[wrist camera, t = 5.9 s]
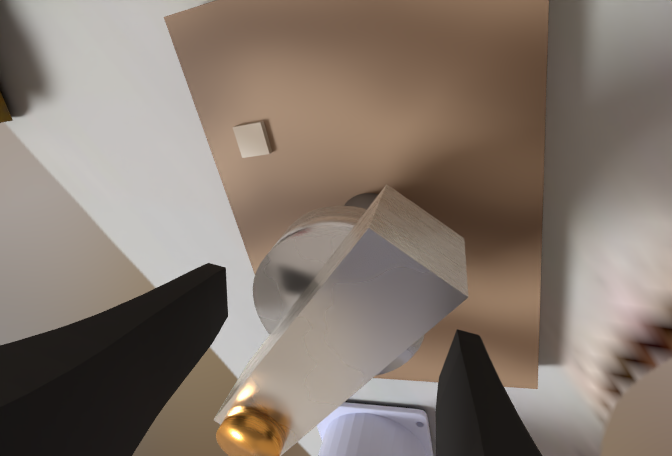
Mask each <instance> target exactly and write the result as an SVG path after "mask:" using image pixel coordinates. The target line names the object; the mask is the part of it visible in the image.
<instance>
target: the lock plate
mask: <svg viewBox="0 0 672 456" xmlns="http://www.w3.org/2000/svg"><path fill="white" fill-rule="evenodd" d="M548 13H549V0H216V1H213V2H210V3H207V4H203V5H200V6H197V7H194V8H191V9H188V10H185V11H181V12H178V13H175V14H172V15H169V16H166V17H164V19H165V22H166V25H167V28H168V30H169V33H170V36H171V39H172V42H173V45H174V47H175V50H176V53H177V56H178V59H179V62H180V64H181V67H182V70H183V73H184V76H185V78H186V81H187V84H188V87H189V90H190V93H191V95H192V98H193V101H194V104H195V107H196V110H197V112H198V115H199V118H200V121H201V124H202V126H203V129H204V132H205V135H206V138H207V141H208V143H209V146H210V149H211V152H212V155H213V158H214V160H215V163H216V166H217V169H218V172H219V175H220V177H221V180H222V183H223V186H224V189H225V191H226V194H227V197H228V200H229V203H230V206H231V208H232V211H233V214H234V217H235V220H236V223H237V225H238V228H239V231H240V234H241V237H242V239H243V242H244V245H245V248H246V251H247V254H248V256H249V259H250V262H251V265H252V268H253V271H254V273H255V274H256V271H257V269H258V267H259V265H260V263H261V262H262V260H263V259H264V258H265V256H266V255H267V254H268V253H269V251H270V250H271V249H272V248H273V246H274V245H275V244H276V243H277V242H278V240H279V239H280V238H281V237H282V235H283V234H284V233H285V232H286V230H287V229H288V228H289V227H290V226H291V225H292V224H293V223H294V222H295V221H296V220H297V219H299V218H300V217H301V216H303V215H305V214H307V213H309V212H311V211H313V210H316V209H319V208H323V207H329V206H341V205H343V206H355V207H359V208H364V209H368V207H369V206H370V205H371V204H372V202H373V201H374V200H375V198H376V197H377V196H378V195H379V193H380V192H381V191H382V189H383V188H384V187H385V186H386V184H388V185H389V186H390V187H392V188H393V189H395V190H396V191H397V192H399V193H400V194H402V195H403V196H405V197H406V198H407V199H409V200H410V201H412V202H413V203H414V204H416V205H417V206H419V207H420V208H422V209H423V210H424V211H426V212H427V213H429V214H430V215H432V216H433V217H434V218H436V219H437V220H439V221H440V222H441V223H443V224H444V225H446V226H447V227H449V228H450V229H451V230H453V231H454V232H456V233H457V234H458V235H460V236H461V237H463V238H464V242H465V256H466V270H467V285H468V298H467V299H466V300H465V301H463V302H462V303H461V304H460V305H459V306H458V307H456V308H455V309H454V310H453V311H452V312H450V313H449V314H448V315H447V316H446V317H444V318H443V319H442V320H441V321H440V322H439V323H437V324H436V325H435V326H434V327H433V328H431V329H430V330H429V331H428V332H427V333H426V334H425V335H424V339H423V342H422V344H421V346H420V348H419V349H418V351H417V352H416V353H415V355H414V356H413V357H412V358H411V359H410V360H409V361H408V362H406V363H405V364H403V365H402V366H401V367H399V368H397V369H395V370H393V371H390V372H388V373H385V374H381V375H377V376H375V377H373V378H383V379H398V380H413V381H427V382H439V376H440V373H441V370H442V368H443V365H444V362H445V360H446V357H447V354H448V352H449V349H450V346H451V344H452V341H453V338H454V336H455V333H456V330H457V329H458V330H462V331H466V332H470V333H473V334H477V335H479V336H480V337H481V339H482V341H483V343H484V345H485V348H486V350H487V352H488V355H489V357H490V359H491V361H492V363H493V366H494V368H495V370H496V372H497V374H498V376H499V378H500V380H501V382H502V384H503V386H504V387H516V388H531V389H538V356H539V322H540V287H541V253H542V219H543V185H544V150H545V116H546V82H547V48H548Z"/></svg>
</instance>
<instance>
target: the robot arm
mask: <svg viewBox="0 0 672 456" xmlns="http://www.w3.org/2000/svg"><path fill="white" fill-rule="evenodd" d="M227 317H228V306H227V286H226V268H225V267H221V266H218V265H214V264H210V263H207V264H205V265H203V266H201V267H198V268H196V269H194V270H192V271H190V272H188V273H186V274H184V275H182V276H180V277H178V278H176V279H174V280H172V281H170V282H168V283H166V284H164V285H162V286H160V287H158V288H155V289H153V290H151V291H149V292H148V293H145V294H143V295H141V296H138V297H136V298H134V299H132V300H129V301H127V302H125V303H123V304H120V305H118V306H116V307H113V308H111V309H109V310H107V311H104V312H102V313H99V314H97V315H94V316H92V317H89V318H86V319H84V320H81V321H78V322H75V323H72V324H70V325H67V326H64V327H61V328H58V329H55V330H51V331H48V332H45V333H42V334H38V335H35V336H32V337H28V338H25V339H22V340H19V341H15V342H12V343H8V344H4V345H0V456H132V455H133V453H134V451H135V450H136V448H137V447H138V445H139V443H140V442H141V440H142V439H143V437H144V436H145V434H146V432H147V431H148V429H149V427H150V426H151V424H152V423H153V421H154V420H155V418H156V417H157V415H158V414H159V413H160V411H161V410H162V408H163V407H164V406H165V404H166V403H167V401H168V400H169V399H170V398H171V396H172V395H173V394H174V392H175V391H176V390H177V389H178V387H179V386H180V385H181V383H182V382H183V381H184V379H185V378H186V377H187V375H188V374H189V373H190V372H191V370H192V369H193V368H194V367H195V365H196V364H197V363H198V361H199V360H200V359H201V357H202V356H203V355H204V353H205V352H206V351H207V349H208V348H209V347H210V345H211V344H212V343H213V341H214V339H215V338H216V336H217V334H218V333H219V331H220V329H221V327H222V326H223V324H224V322H225V320H226V319H227ZM317 427H318V430H319V433H320V436H321V439H322V444H321V448H320V451H319V454H318V456H433V450H432V443H431V437H430V430H429V423H428V417H427V414H426V412H425V411H423V410H420V409H412V408H401V407H390V406H379V405H368V404H357V403H346V402H344V403H343V404H341V405H340V406H339V407H338V408H337V409H335V410H334V411H333V412H332V413H331V414H330V415H328V416H327V417H326V418H325V419H324V420H322V421H321V422H320V423H319V424H318V425H317ZM436 456H542V455H541V453H540V451H539V450H538V448H537V446H536V445H535V443H534V441H533V440H532V438H531V436H530V434H529V433H528V431H527V429H526V428H525V426H524V424H523V422H522V420H521V419H520V417H519V415H518V413H517V411H516V409H515V408H514V406H513V404H512V402H511V400H510V398H509V396H508V394H507V392H506V390H505V388H504V386H503V384H502V382H501V380H500V378H499V376H498V374H497V372H496V370H495V368H494V366H493V363H492V361H491V359H490V357H489V355H488V352H487V350H486V348H485V345H484V343H483V341H482V339H481V337H480V336H479V335H477V334H473V333H470V332H466V331H462V330H458V329H457V330H456V333H455V336H454V338H453V341H452V344H451V346H450V349H449V352H448V354H447V357H446V360H445V362H444V365H443V368H442V370H441V373H440V376H439V382H438V392H437V402H436Z"/></svg>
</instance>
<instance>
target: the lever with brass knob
mask: <svg viewBox="0 0 672 456" xmlns="http://www.w3.org/2000/svg"><path fill="white" fill-rule="evenodd" d="M253 298H254V304H255V307H256V310H257V313H258V316H259V318H260V320H261V322H262V324H263V325H264V327H265V329H266V330H267V331H268V333H269V334H270V335H269V336H268V338H267V339H266V340H265V342H264V343H263V344H262V346H261V347H260V348H259V349H258V351H257V352H256V353H255V355H254V356H253V357H252V358H251V360H250V361H249V362H248V364H247V366H246V367H245V369H244V370H243V372H242V374H241V375H240V377H239V379H238V380H237V382H236V384H235V386H234V387H233V389H232V390H231V392H230V394H229V395H228V397H227V399H226V400H225V402H224V404H223V405H222V407H221V409H220V410H219V412H218V414H217V415H216V417H215V419H214V421H216V422H218V423H219V424H220V427H219V429H218V431H217V433H216V439H217V441H218V444H219V445H220V447H221V448H222V449H223V450H224V452H225V453H226V454H228V455H229V456H281V455H282V454H283V453H285V452H286V451H287V450H288V449H289V448H290V447H292V446H293V445H294V444H295V443H296V442H298V441H299V440H300V439H301V438H302V437H303V436H305V435H306V434H307V433H308V432H309V431H311V430H312V429H313V428H314V427H315V426H317V425H318V424H319V423H320V422H321V421H322V420H324V419H325V418H326V417H327V416H328V415H330V414H331V413H332V412H333V411H334V410H335V409H337V408H338V407H339V406H340V405H341V404H343V403H344V402H345V401H346V400H347V399H349V398H350V397H351V396H352V395H353V394H354V393H356V392H357V391H358V390H359V389H360V388H362V387H363V386H364V385H365V384H366V383H367V382H369V381H370V380H371V379H372V378H373V377H375V376H377V375H381V374H385V373H388V372H390V371H393V370H395V369H397V368H399V367H401V366H402V365H403V364H405V363H406V362H408V361H409V360H410V359H411V358H412V357H413V356H414V355H415V353H416V352H417V351H418V349H419V348H420V346H421V344H422V342H423V339H424V335H425V334H426V333H427V332H428V331H429V330H430V329H431V328H433V327H434V326H435V325H436V324H437V323H439V322H440V321H441V320H442V319H443V318H444V317H446V316H447V315H448V314H449V313H450V312H452V311H453V310H454V309H455V308H456V307H458V306H459V305H460V304H461V303H462V302H463V301H465V300H466V299H467V298H468V285H467V270H466V256H465V242H464V238H463V237H461V236H460V235H458V234H457V233H456V232H454V231H453V230H451V229H450V228H449V227H447V226H446V225H444V224H443V223H441V222H440V221H439V220H437V219H436V218H434V217H433V216H432V215H430V214H429V213H427V212H426V211H424V210H423V209H422V208H420V207H419V206H417V205H416V204H414V203H413V202H412V201H410V200H409V199H407V198H406V197H405V196H403V195H402V194H400V193H399V192H397V191H396V190H395V189H393V188H392V187H390V186H389V185H388V184H386V186H385V187H384V188H383V189H382V191H381V192H380V193H379V195H378V196H377V197H376V198H375V200H374V201H373V202H372V204H371V205H370V206H369V207H368V209H364V208H359V207H355V206H343V205H341V206H329V207H323V208H319V209H316V210H313V211H311V212H309V213H307V214H305V215H303V216H301V217H300V218H299V219H297V220H296V221H295V222H294V223H293V224H292V225H291V226H290V227H289V228H288V229H287V230H286V232H285V233H284V234H283V235H282V237H281V238H280V239H279V240H278V242H277V243H276V244H275V245H274V246H273V248H272V249H271V250H270V251H269V253H268V254H267V255H266V256H265V258H264V259H263V260H262V262H261V263H260V265H259V267H258V269H257V271H256V274H255V278H254V283H253Z"/></svg>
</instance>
